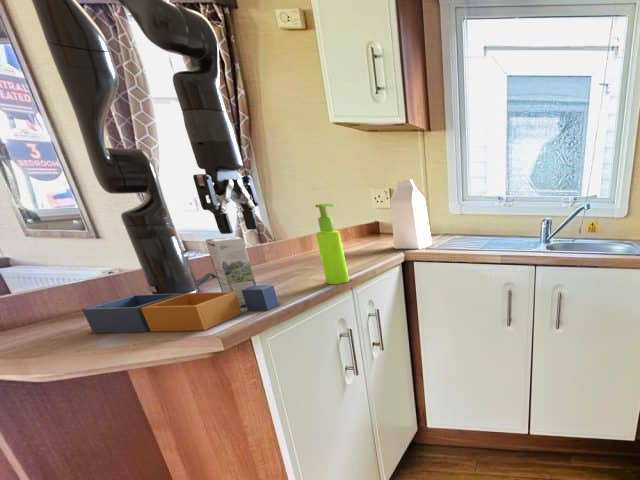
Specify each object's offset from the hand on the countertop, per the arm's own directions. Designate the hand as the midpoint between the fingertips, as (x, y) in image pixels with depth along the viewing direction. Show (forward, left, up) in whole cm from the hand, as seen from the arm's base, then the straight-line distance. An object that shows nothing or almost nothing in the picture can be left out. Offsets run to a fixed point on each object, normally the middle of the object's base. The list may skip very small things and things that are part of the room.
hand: (240, 231), depth 86 cm
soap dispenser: (-27, +6, -16) cm, 32 cm away
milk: (-99, +9, -16) cm, 101 cm away
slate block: (0, 0, -16) cm, 16 cm away
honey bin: (+10, -8, -16) cm, 20 cm away
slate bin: (+10, -19, -16) cm, 27 cm away
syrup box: (-4, -7, -16) cm, 18 cm away
